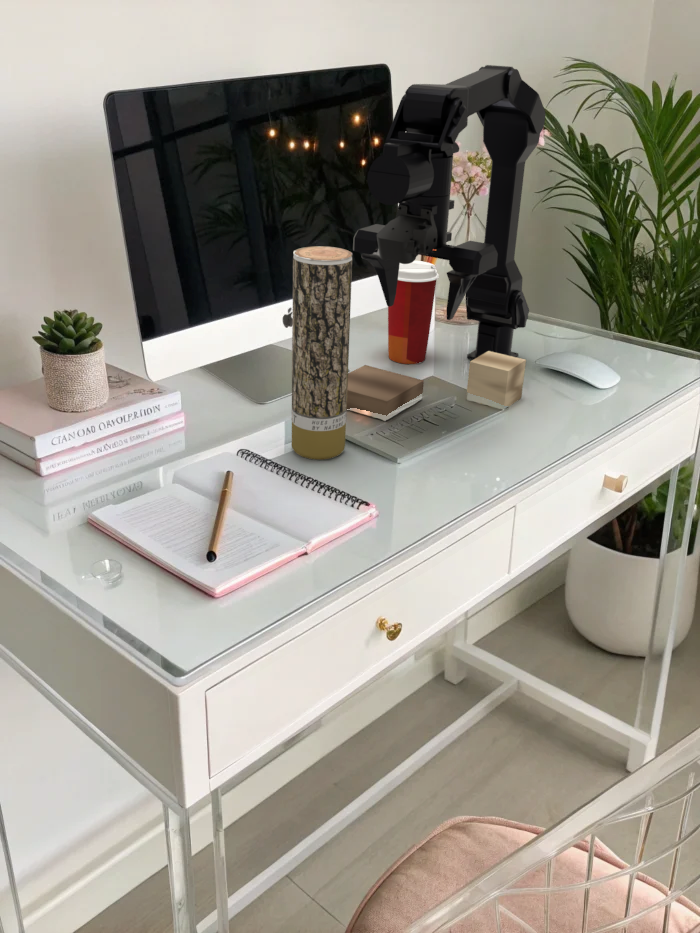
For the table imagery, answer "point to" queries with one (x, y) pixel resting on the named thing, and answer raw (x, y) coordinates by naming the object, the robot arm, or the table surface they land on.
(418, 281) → the coffee cup
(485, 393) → the oak cube
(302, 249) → the paper tube
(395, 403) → the walnut base
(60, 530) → the table surface
